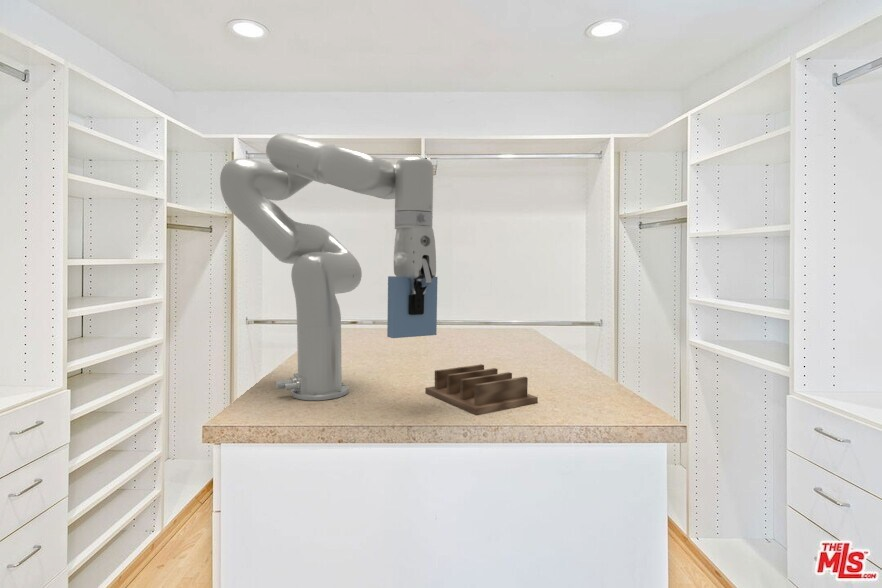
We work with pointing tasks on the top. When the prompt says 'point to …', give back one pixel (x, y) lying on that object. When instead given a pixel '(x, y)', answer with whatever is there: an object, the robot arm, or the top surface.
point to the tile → (398, 309)
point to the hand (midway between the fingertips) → (412, 313)
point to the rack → (480, 389)
